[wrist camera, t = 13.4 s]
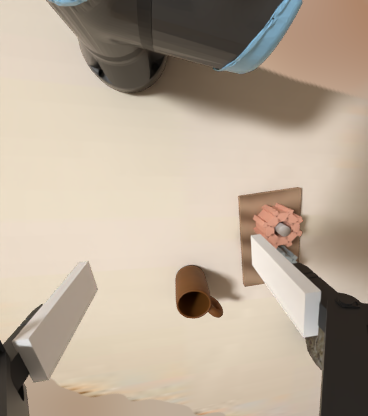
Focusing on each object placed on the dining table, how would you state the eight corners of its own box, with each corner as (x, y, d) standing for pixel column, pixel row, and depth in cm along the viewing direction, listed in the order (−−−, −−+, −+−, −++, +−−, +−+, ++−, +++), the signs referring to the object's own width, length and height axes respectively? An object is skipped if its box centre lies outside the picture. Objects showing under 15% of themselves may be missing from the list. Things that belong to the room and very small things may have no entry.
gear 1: (252, 206, 44) (262, 212, 39) (289, 200, 44) (304, 206, 39) (253, 240, 46) (262, 250, 41) (288, 235, 46) (301, 245, 41)
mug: (224, 280, 50) (235, 308, 41) (207, 301, 52) (214, 332, 43) (186, 258, 48) (189, 283, 39) (169, 281, 49) (168, 310, 40)
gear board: (238, 195, 44) (250, 203, 37) (298, 187, 44) (321, 193, 37) (243, 283, 51) (254, 304, 44) (294, 275, 51) (314, 294, 44)
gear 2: (248, 254, 47) (257, 265, 42) (280, 236, 46) (293, 246, 41) (262, 279, 49) (272, 293, 45) (293, 263, 49) (306, 275, 44)
